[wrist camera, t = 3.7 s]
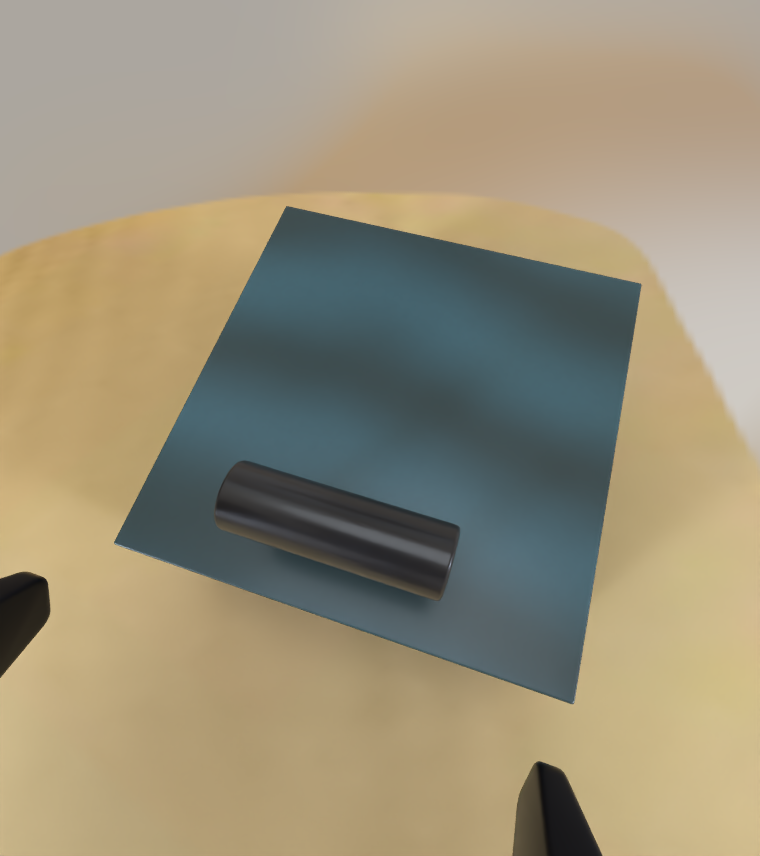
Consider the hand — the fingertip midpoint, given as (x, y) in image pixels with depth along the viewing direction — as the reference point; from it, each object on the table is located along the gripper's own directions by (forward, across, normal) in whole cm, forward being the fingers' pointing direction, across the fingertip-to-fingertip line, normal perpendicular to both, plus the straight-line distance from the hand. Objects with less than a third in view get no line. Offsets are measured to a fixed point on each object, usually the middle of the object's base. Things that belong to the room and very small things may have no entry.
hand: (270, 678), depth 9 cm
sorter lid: (+9, 0, -2) cm, 9 cm away
